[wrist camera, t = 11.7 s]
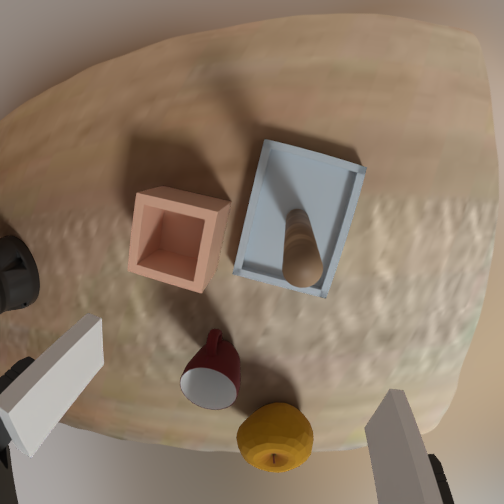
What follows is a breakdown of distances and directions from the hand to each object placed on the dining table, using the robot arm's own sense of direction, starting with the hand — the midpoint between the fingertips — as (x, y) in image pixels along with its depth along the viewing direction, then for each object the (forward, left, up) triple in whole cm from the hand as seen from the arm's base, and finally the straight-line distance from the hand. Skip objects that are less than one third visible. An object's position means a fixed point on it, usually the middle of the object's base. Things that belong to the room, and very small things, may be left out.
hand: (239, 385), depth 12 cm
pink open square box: (-12, -3, -31) cm, 33 cm away
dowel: (+2, +2, -30) cm, 30 cm away
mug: (-4, -20, -31) cm, 37 cm away
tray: (+2, +2, -31) cm, 31 cm away
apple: (+9, -33, -31) cm, 46 cm away
